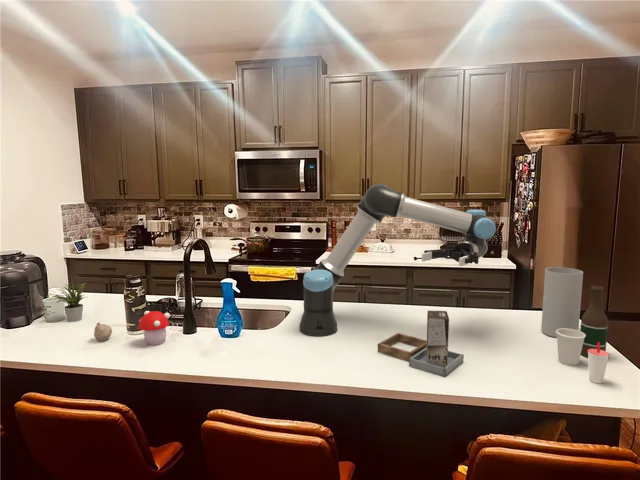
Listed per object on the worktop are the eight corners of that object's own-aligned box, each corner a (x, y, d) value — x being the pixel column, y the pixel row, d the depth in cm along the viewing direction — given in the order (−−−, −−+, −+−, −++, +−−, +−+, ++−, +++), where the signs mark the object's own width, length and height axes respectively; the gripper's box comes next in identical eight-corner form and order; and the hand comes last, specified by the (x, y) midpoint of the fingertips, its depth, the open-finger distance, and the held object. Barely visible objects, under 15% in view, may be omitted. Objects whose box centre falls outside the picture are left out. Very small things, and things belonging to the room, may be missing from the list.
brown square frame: (377, 352, 148) (377, 343, 148) (398, 340, 159) (398, 332, 158) (411, 362, 140) (411, 353, 139) (430, 349, 150) (430, 341, 150)
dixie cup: (548, 356, 144) (550, 328, 142) (574, 356, 143) (576, 328, 142) (562, 367, 135) (564, 337, 134) (588, 367, 135) (591, 337, 134)
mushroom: (176, 342, 158) (174, 311, 157) (147, 350, 151) (145, 318, 149) (162, 335, 166) (160, 305, 164) (134, 343, 158) (132, 311, 156)
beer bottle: (580, 357, 142) (586, 288, 139) (576, 349, 150) (581, 282, 146) (608, 361, 140) (614, 290, 136) (602, 352, 147) (608, 284, 143)
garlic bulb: (90, 341, 160) (88, 320, 159) (105, 335, 166) (104, 315, 165) (101, 344, 157) (99, 323, 156) (116, 338, 163) (115, 318, 162)
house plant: (72, 313, 194) (69, 278, 192) (100, 314, 192) (98, 279, 190) (49, 323, 180) (45, 286, 178) (78, 325, 178) (75, 287, 176)
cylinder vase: (581, 341, 157) (587, 275, 154) (544, 337, 161) (548, 272, 158) (573, 330, 169) (578, 268, 165) (538, 326, 173) (542, 266, 169)
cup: (587, 383, 125) (590, 344, 123) (583, 375, 130) (586, 337, 128) (608, 386, 123) (612, 346, 121) (604, 378, 128) (607, 340, 126)
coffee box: (447, 369, 133) (449, 319, 131) (426, 367, 135) (428, 318, 132) (445, 357, 142) (447, 310, 140) (425, 355, 143) (427, 309, 141)
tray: (409, 366, 137) (409, 358, 137) (428, 352, 148) (429, 345, 147) (445, 377, 129) (445, 369, 129) (463, 361, 140) (463, 354, 140)
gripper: (497, 265, 156) (476, 275, 140) (434, 258, 172) (408, 266, 156) (498, 245, 155) (477, 253, 139) (434, 239, 171) (408, 245, 155)
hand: (440, 260), depth 147 cm, fingers open, 13 cm apart
